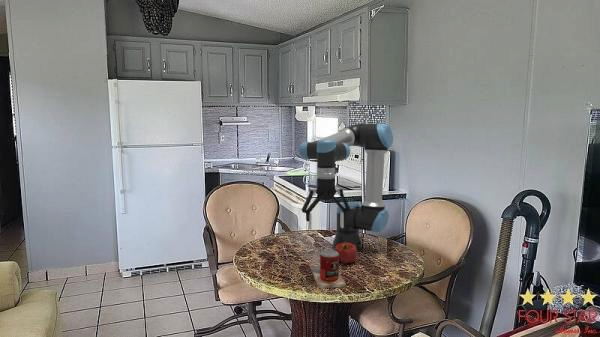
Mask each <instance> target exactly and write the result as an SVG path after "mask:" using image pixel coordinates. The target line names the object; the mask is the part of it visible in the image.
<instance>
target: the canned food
mask: <svg viewBox="0 0 600 337" xmlns="http://www.w3.org/2000/svg"><path fill="white" fill-rule="evenodd" d="M339 262H340V261H339V253H338V252H337V251H335V249H326V250H321V251H320V253H319V266H320V278H321V280H323V281H326V282H334V281H336V280H338V277H339V274H340V273H339V272H340V271H339V270H340V269H339V268H340V267H339Z"/></svg>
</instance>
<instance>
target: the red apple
mask: <svg viewBox="0 0 600 337" xmlns="http://www.w3.org/2000/svg"><path fill="white" fill-rule="evenodd" d="M334 251H337V252H338V253H339V262H340V263H343V264H345V265H347V264H353V263H354V262H355V261H356V259H357V257H358V256H357V255H358V250H357V249H356V246H355V245H353V244H351V243H348V242H344V243H341V244H338V245H337V246H336V248H334Z"/></svg>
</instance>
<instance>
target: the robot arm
mask: <svg viewBox="0 0 600 337" xmlns="http://www.w3.org/2000/svg"><path fill="white" fill-rule="evenodd" d="M393 136H394V134H393V131H392V128H391V127H390V126H389V125H388V124H386V123H356V124H351V125H349V126H347V127H343V128H342V129H339V131H338V132H336V133H333V134H331V135H329V136H326V137H323V138H321V139H317V140H315V141H311V142H309V141H304V142H302V143H301V144H300V145H299V148H298V152H299V155H300V158H302V159H306V160H314V161H315V160H316V177H317V178H316V189H315V190H314V189H309V191H308V195H307V197H306V200H305V202H304V203H303V205H302V207H301V212H302V213H304V214H305V221H306V222H308V224H307V225H308V230H310V231H311V230H312V213H311V212H313V210H314V209H315V207H316V206H317V205H318V204H319V202H321V201H331V200H332V201H333V202H334V203H335V204H336V206H337V207H336V233H335V236H334V239H333V242H332V243H333V244H332V245H333V246H332V247H333V248H334V249H335V248H336V246H337V245H338V244H341V243H344V242H348V243H351V244H353V245H355V246H356V249H357V251H359V250H361V249H362V248H363V242H362V238H361V236H360V231H361V230H362V231H367V232H372V233H382V232H383V231H385V229H386V227H387V225H388V222H389V216H390V214H389V211H388V210H387V209H385V207H386V205H385V204H384V203H383V188H384V172H385V170H384V168H385V156H386V153H388V150H389V148H392V145H393V143H394V137H393ZM350 147H363V148H364V149H363V150H364V152H365V153H366V168H365V169H366V171H365V189H364V200H363V202H362V203H359V202H348V201H347V199H346V197H345V195H344V190H343V189H342V188H341V187H340V188H338V189H336V178H335V177H336V162H341V161H345V160H347V159H348V158H349V157H350V156H351V148H350ZM315 194H316V197H315V198H314V200H313V201H312V199H313V197H314V196H315ZM336 194H338V195H339V197H340V200H341V201H342V203H340V201H339V200H338V199H337V198H336V196H335V195H336ZM311 201H312V203H311ZM310 203H311V204H310ZM309 204H310V205H309ZM360 204H361V206H360Z"/></svg>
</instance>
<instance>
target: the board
mask: <svg viewBox="0 0 600 337" xmlns="http://www.w3.org/2000/svg"><path fill="white" fill-rule="evenodd" d="M309 270H310V272H311V274H312V277H313V278H314V280H315V283H316V285H317V287H318V288H319V289H329V288H346V287H347V283H346V281H345V280H344V278H343V277H342V275H341V274H340V273H339V277H338V280H336V281H334V282H326V281H323V280H321V278H320V265H315V266H314V265H310V266H309Z"/></svg>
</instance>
